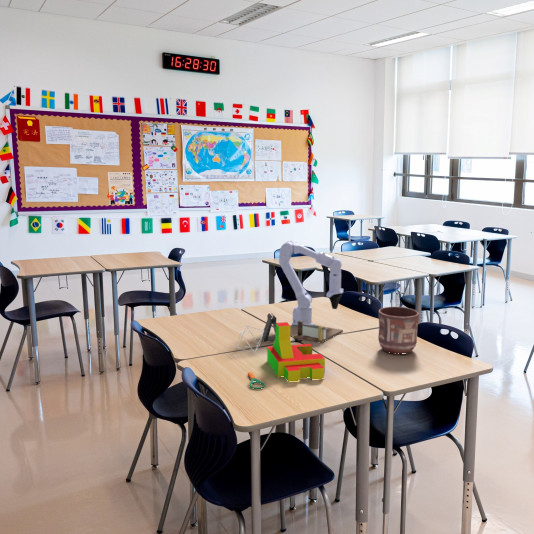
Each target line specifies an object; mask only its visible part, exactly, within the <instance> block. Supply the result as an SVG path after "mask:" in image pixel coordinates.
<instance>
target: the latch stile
mask: <svg viewBox="0 0 534 534" xmlns="http://www.w3.org/2000/svg"><path fill="white" fill-rule="evenodd" d="M318 326H319V327H318V340H320V341H322V335H323V327H321V326H322V325H318Z"/></svg>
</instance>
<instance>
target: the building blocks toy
mask: <svg viewBox="0 0 534 534" xmlns="http://www.w3.org/2000/svg"><path fill="white" fill-rule="evenodd" d="M275 336H276V338H275V341H273V345H272V346H267V347H266V352H267V355H266V361H268V362H267V363H268V365H269V364H270V365H269V366H270V367H272V368H273V369H272V368H271V369H272V371H273V370H274V371H275V372H274V371H273V372H274V374H275V375H276V374H277V375H276V376H277V377H281V376H284V377H285V378H286V379H287V380H288V382H289V381H298V380H300V381H301V379H300V378H307V377H310V378H311V379H322V378H324V379H325V374H324V373H325V370H326V359H325V357H324V356H323V355H322V354H321V353H313V345H312V344H311V343H305V344H292V342H291V341H292V340H291V324H289V323H288V322H287V321H285V322H276V335H275ZM284 377H283V378H284ZM281 378H282V377H281ZM285 378H284V379H285ZM310 378H309V379H310ZM286 379H285V380H286ZM311 379H310V380H311ZM287 380H286V381H287ZM288 382H287V383H288Z"/></svg>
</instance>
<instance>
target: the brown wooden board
mask: <svg viewBox="0 0 534 534" xmlns="http://www.w3.org/2000/svg"><path fill="white" fill-rule="evenodd" d="M302 324H303V321H298V326H297V333H296V334H294V335H292V336H293V337H292V338H294V339H297V338H300V339H299V340H302V339H305V340H304V341H307V340H310V341H309V342H312V341H314V342H313V343H317V342H320V343H319V344H322V343H324V342H326V341H328V340H330V339H332V338H333V336H334V337H336V336H338V335H340V334H342V333H343V332H344V330H343V329H340V328H334V327H328V326H322V325H321V326H322V327H326V339H322V341H320V340H318V338H315V337H310V336H305V335H302V331H303V326H302ZM316 326H319V325H318V324H316ZM341 332H342V333H341ZM339 333H340V334H339ZM335 335H336V336H335ZM331 337H332V338H331ZM329 338H330V339H329ZM327 339H328V340H327ZM325 340H326V341H325ZM323 341H324V342H323Z"/></svg>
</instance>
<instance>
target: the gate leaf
mask: <svg viewBox="0 0 534 534" xmlns="http://www.w3.org/2000/svg"><path fill="white" fill-rule="evenodd" d="M316 325H317V324H316ZM316 325H315V324H314V325H311V324H306V323H304V324H302V326H303V331H302V335H305V336H310V337H315V338H318V327H319V326H321V327H322V325H318V326H316ZM326 327H327V326H324V327H323V335H322V339H326Z"/></svg>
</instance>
